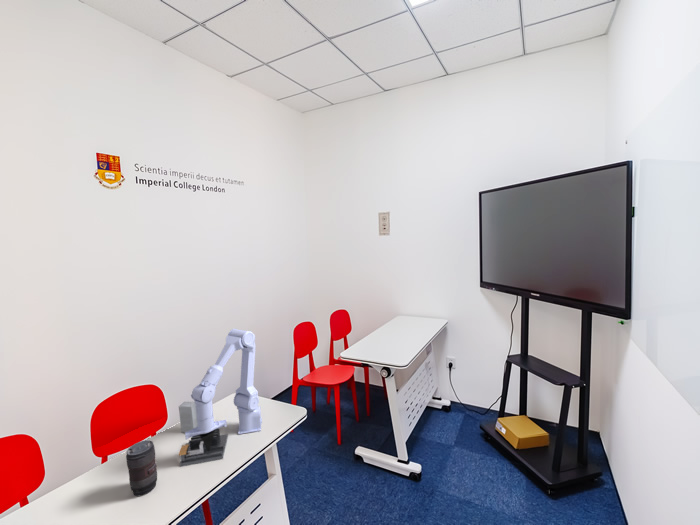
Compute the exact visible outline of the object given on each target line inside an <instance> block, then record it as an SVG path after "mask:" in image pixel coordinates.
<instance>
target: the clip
mask: <svg viewBox="0 0 700 525" xmlns="http://www.w3.org/2000/svg"><path fill="white" fill-rule="evenodd" d="M199 446H200V449H198V450H193V451H187V453H186V455H185V458H186V457H192V456H197V455H203V454H205V445H204V442H203V441H202V442H201V443H200V445H199ZM179 458H180V461H181V455H180V456H179Z"/></svg>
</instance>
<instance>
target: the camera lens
mask: <svg viewBox="0 0 700 525" xmlns="http://www.w3.org/2000/svg"><path fill="white" fill-rule="evenodd" d="M155 448H156V447H155V445H154V442H153V441H152V440H147V439H146V440H142V441H141V440H140V441H138V442H136V443H134V444H133V445H131V446H129V447H128V449H127V450H126V454H125V455H126V456H125V459H126V466H127V470H128V477H129V479H128V480H129V486H130V490H131V492H132V494H133V495H134V496H136V497H142V496H145V495H148V494H149V493H151V492H152V491H153V490H154V489H155V488H156V485H157V481H158V470H157V462H156V461H157V460H156V449H155Z"/></svg>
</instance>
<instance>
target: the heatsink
mask: <svg viewBox="0 0 700 525" xmlns="http://www.w3.org/2000/svg"><path fill="white" fill-rule="evenodd" d="M228 439H229V434H228V433H225V434H221V433H220V428H218V429H215V430H214V436H213V439H212V441H211V445H210V451H207V447H206V445H205V443H204V445H205V454H203V455H197V456H192V457H186V458H185V455H186V453H187V451H193V450H198V449H200V446H199V445H200V443H201V442H202V441H203V440H202V439H201V437H200V434H199V435H196V436H193V437H190V439H188V442H187V444H183V445H181V447H180V450H179V452H178V456H179V457H180V456H181V460H180V462H179V467H186V466H187V467H188V466H191V465H196V464H197V465H198V464H202V463H207V462H214V461H218V460H219V461H220V460H224V456H225V451H226V447H227V444H228V443H227V442H228Z"/></svg>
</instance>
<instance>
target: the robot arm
mask: <svg viewBox="0 0 700 525" xmlns="http://www.w3.org/2000/svg"><path fill="white" fill-rule="evenodd" d="M255 341H256V334H254V332H252V331H251V330H244V329H237V328H232V329H230V331H229V332H228V334H227V336H226V338H225V345H224V347H223V348H222V350H221V352H220V354H219V356H218V357H217V360H216V361H215V363H214V364H213V365H211V366H209V368H207V370H206V373H205V375H204V376H203V378H202V380H201V381H200V382H199V384H197V385H195V387H194V388H193V389H192V393H191V394H190V397H191V399H192V400H194V401H193V402H195V404H196V414H197V424H198V427H196V428H194V429H192V430H190V431H187V432H184V437H185V440H186V441H187V440H190V439H191V437H193V436H196V435H199V434H200V437H201V439H202V440H203V442H204V443H205V445H206V447H207V451H210V445H211V441H212V439H213V436H214V430H215V429H218V428H219V429H221V428H223V427H224V428H226V427H228V425H227V424H228V423H227V422H228V421H227V419H222V420H215V419H214V409H213V407H214V406H213V399H214V398H215V396H216V389H217V385H218V383H219V381H220V380H221V378H222V377H223V375H224V367H225V366H226V364H227V363H228V362H229V360H230V359H231V357H232V355H233V354H234V353H235V352H236V351H239V350H241V366H240V384H239V387H238V388H237V389H235V394H234V397H233V404H234V406H235V407H236V409H237V410H238V412H237V413H238V424H239V425H238V430H237V435H243V434H248V433H255V432H260V431H262V424H263V418H262V410H261V405H259V403H260V398H259V391H258V390H257V388H256V387H255V386H254V379H255V365H256V364H255V361H256V360H255V359H256V348H257V347H256V346H257V345H256V342H255Z"/></svg>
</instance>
